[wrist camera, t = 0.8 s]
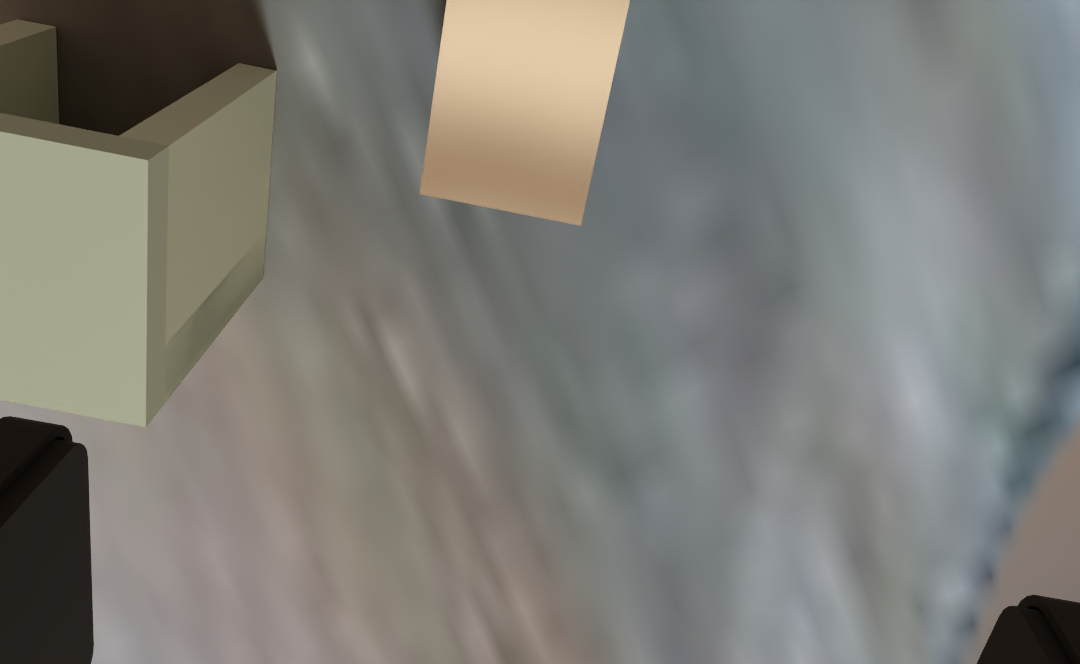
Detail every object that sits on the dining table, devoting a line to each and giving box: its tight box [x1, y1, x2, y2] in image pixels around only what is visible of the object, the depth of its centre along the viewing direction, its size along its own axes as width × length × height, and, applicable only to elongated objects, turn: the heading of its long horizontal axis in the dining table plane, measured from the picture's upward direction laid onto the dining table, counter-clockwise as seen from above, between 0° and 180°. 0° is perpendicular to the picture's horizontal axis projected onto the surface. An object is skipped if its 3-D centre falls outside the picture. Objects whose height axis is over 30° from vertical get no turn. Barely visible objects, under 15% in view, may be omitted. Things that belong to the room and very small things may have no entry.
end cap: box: [0, 19, 277, 427], centre depth 24 cm, size 6×7×8 cm
